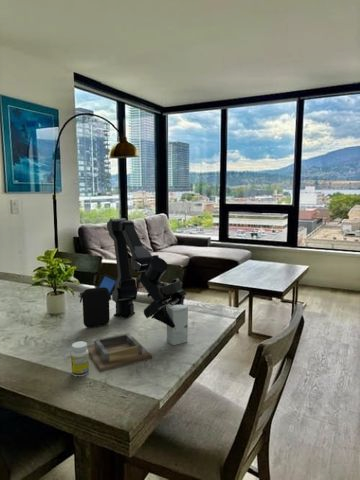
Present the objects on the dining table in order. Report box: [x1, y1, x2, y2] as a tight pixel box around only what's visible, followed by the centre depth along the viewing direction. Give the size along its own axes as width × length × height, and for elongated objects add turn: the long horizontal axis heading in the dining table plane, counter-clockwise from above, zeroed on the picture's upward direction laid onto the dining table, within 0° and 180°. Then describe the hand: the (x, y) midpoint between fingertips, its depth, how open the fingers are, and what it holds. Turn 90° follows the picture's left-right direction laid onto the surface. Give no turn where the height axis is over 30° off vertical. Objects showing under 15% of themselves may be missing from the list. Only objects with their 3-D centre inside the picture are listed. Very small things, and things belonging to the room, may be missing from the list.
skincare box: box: [166, 304, 189, 346], centre depth 119 cm, size 6×4×12 cm
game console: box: [79, 273, 117, 301], centre depth 169 cm, size 16×14×9 cm
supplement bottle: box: [70, 340, 90, 377], centre depth 99 cm, size 5×5×8 cm
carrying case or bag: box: [79, 287, 111, 329], centre depth 132 cm, size 11×3×15 cm, turn 115°
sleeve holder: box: [87, 332, 153, 372], centre depth 111 cm, size 16×16×4 cm
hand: (180, 323), depth 119 cm, fingers open, 8 cm apart
